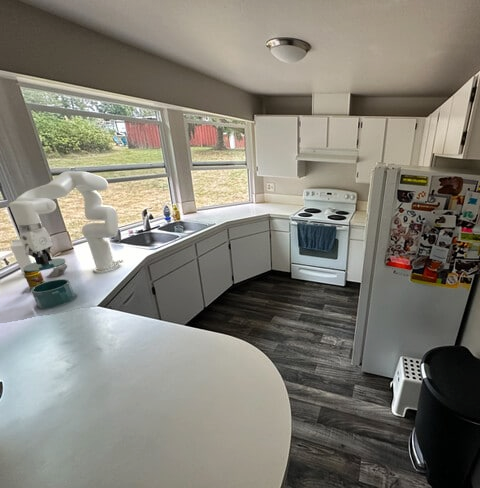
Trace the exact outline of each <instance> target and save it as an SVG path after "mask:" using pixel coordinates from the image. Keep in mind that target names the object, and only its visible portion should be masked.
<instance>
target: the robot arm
mask: <svg viewBox="0 0 480 488" xmlns="http://www.w3.org/2000/svg"><path fill="white" fill-rule="evenodd" d="M108 188H109V182H108V180H107V179H106V178H104V177H103V176H100V175H98V174H94V173H92V172H87V171H81V170H80V171H79V170H78V171H77V170H74V171H72V170H68V171H63V172H62V173H60V174H58V175H57V176H56V177H55V178H53V179H52V180H51V181H49V182H48V183H45V184H43V185H40V186H37V187H34V188H32V189H29V190H26V191H25V192H23V193H22V194H20V195H18V197H17V198H15V200H14V201H11V202H10V203H8V207H9V209H10V211H11V213H12V216H13V218H14V221H15V224H16V226H17V230H18V231H19V237H20V238H19V239H21V242H22V245H23V248H24V250H25V251H26V253H25V254H26V255H30V256H32V257H34V258H35V261H36V263H37V264H45V261H44V258H43V256H41V253H46V255H47V257H48V260H49V261H52V259H53V258H52V257H51V256H52V255H51V248H52V247H53V245H54V243H53V240H52V238H51V236H50V233H49V232H48V230H47V229H46V228H45V227H43V226H44V225H43V224H42V223H43V222H42V221H41V218H40V215H44V214H50V213H53V212H54V211H55V210H56V209H57V204H56V202H55V201H54V200H56V199H61V198H64V197H66V196H68V195H69V194H71V193H72V191H73V190H75V189H76V190H77V191H78V192H79V193H80V194H81V196H82V198H83V203H84V207H83V208H84V216H85V219H86V220H88V221H90V223H86V224H84V225H82V227H81V233H82V235H83V237H84V238H85V240H86V243H87V244H88V247H89V250H90V253H91V256H92V259H93V263H94V265H95V268H94V269H93V272H94V273H107V272H110V271H113V270H116V269H117V268H118V267H119V264H122V263H124V259H116V260H115V259H114V257H113V253H112V251H111V247H110V243H109V241H108V239H111V238H116V237H117V236H118V233H119V219H118V211H117V210H116V208H115V207H114V206H111V205H103V197H102V195H100V193H99V192H103V191H104V192H105V191H106V190H107V189H108ZM91 221H92V222H91Z"/></svg>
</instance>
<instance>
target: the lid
mask: <svg viewBox="0 0 480 488" xmlns="http://www.w3.org/2000/svg"><path fill="white" fill-rule="evenodd" d="M40 253H41V256H43V258H44V261H45V264H37V263H36V262H35V263H32V264H29V265H27V266H25V267H24V268H23V270H24V271H29V272H32V271H40V272H41V271H46V270H50V269H53V268H56V267H57V266H60V265H62V264H64V263H65V264H66V263H67V259H66V258H60V257H58V258H51V259H52V261H49V260H48V257H47V255H46V253H42V252H40Z"/></svg>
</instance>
